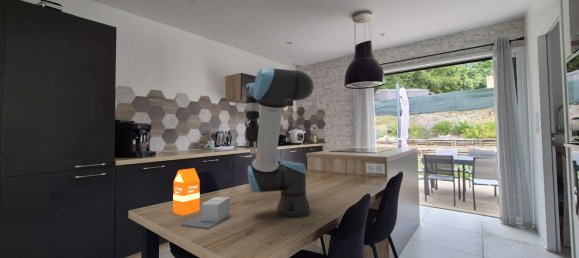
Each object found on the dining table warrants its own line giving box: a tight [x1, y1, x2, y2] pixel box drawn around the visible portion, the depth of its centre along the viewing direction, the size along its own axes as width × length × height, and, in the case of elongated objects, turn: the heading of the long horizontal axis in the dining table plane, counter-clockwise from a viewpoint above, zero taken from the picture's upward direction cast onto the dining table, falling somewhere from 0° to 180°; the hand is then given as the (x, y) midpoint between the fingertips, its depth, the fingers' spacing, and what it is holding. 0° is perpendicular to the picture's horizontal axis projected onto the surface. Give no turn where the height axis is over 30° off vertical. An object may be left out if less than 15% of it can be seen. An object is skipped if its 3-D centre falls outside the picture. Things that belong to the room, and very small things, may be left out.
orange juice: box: [172, 167, 201, 216], centre depth 117 cm, size 8×9×20 cm
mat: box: [180, 214, 232, 230], centre depth 103 cm, size 16×13×1 cm
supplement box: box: [200, 196, 231, 222], centre depth 106 cm, size 7×7×13 cm
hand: (252, 153), depth 139 cm, fingers closed
